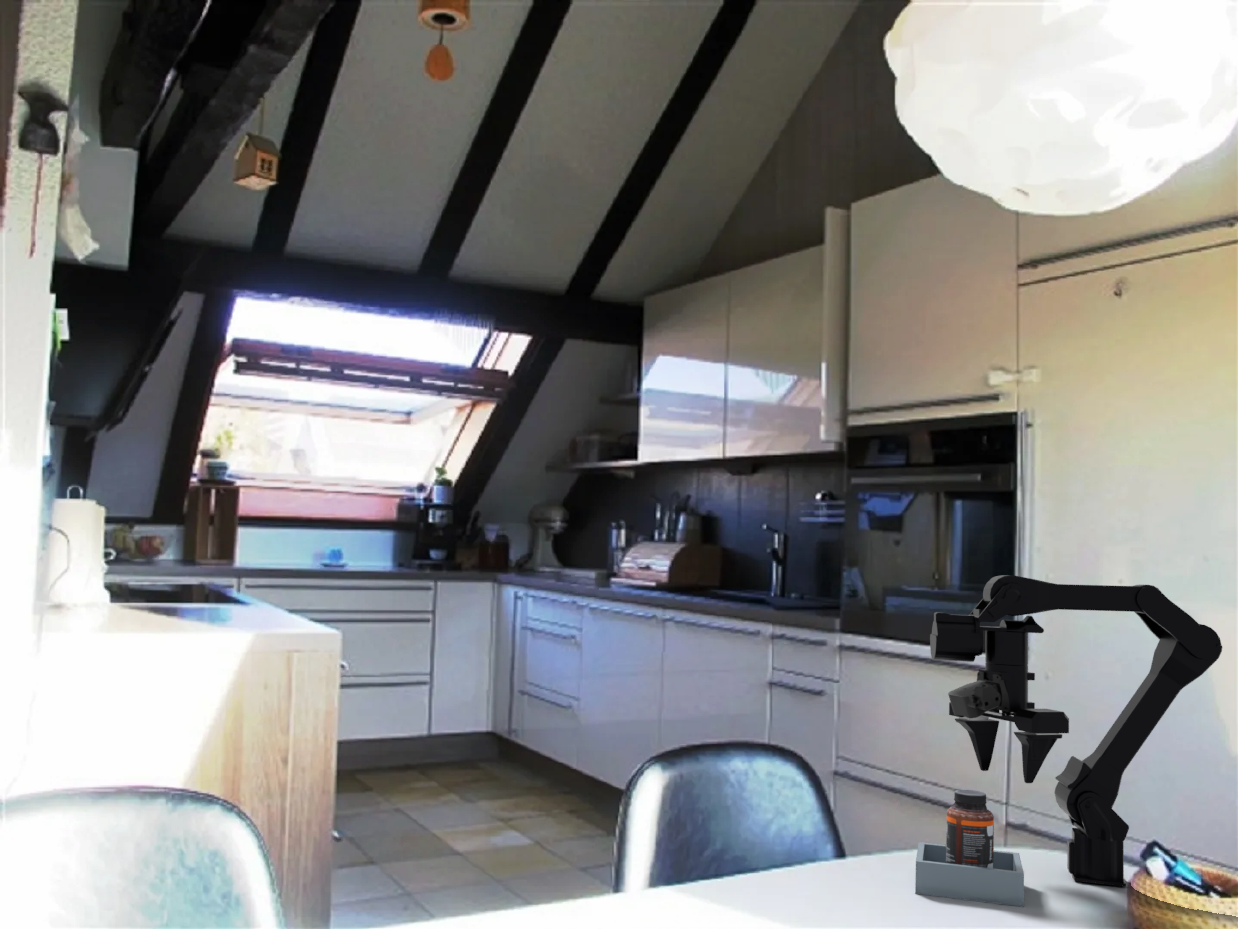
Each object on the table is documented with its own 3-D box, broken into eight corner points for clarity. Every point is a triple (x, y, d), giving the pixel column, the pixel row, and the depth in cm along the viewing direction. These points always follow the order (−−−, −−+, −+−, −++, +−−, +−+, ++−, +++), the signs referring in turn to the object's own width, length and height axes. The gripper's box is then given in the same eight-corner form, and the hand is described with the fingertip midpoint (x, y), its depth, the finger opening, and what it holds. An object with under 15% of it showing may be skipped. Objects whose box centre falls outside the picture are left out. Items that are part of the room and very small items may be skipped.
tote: (1019, 884, 145) (1019, 853, 146) (1023, 907, 135) (1023, 873, 135) (918, 872, 149) (918, 842, 150) (915, 893, 139) (915, 861, 139)
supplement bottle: (1003, 886, 140) (1004, 796, 142) (964, 888, 139) (965, 797, 140) (974, 873, 146) (975, 787, 147) (936, 875, 144) (937, 788, 145)
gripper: (919, 657, 160) (917, 766, 159) (1003, 669, 143) (1003, 791, 141) (981, 658, 164) (980, 764, 162) (1072, 670, 146) (1072, 789, 145)
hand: (1005, 776), depth 152 cm, fingers open, 9 cm apart
